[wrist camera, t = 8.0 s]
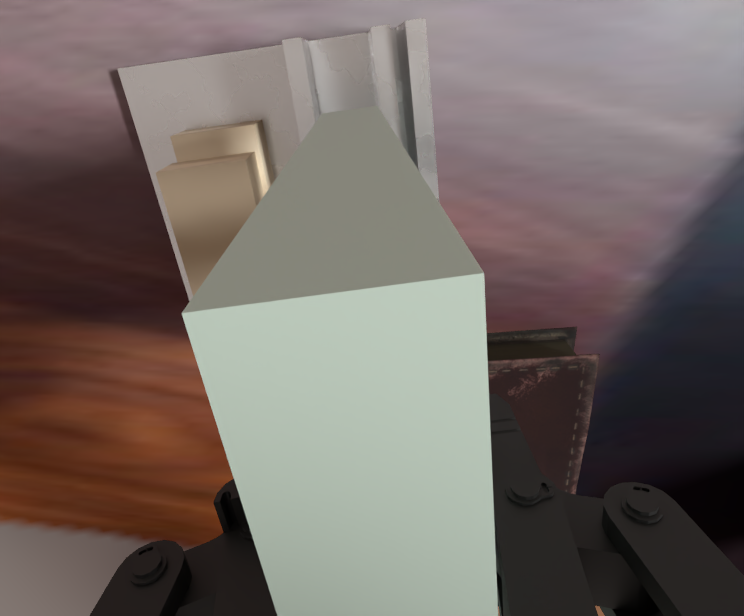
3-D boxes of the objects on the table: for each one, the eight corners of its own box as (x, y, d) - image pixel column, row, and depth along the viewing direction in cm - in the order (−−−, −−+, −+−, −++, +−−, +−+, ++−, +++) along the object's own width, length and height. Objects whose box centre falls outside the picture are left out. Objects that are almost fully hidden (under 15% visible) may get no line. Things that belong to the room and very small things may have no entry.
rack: (435, 315, 41) (451, 361, 34) (208, 345, 41) (182, 397, 35) (410, 27, 32) (425, 17, 26) (123, 68, 32) (68, 69, 26)
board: (409, 380, 28) (512, 951, 10) (365, 386, 28) (387, 964, 10) (377, 105, 22) (483, 272, 4) (321, 113, 22) (181, 313, 4)
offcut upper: (288, 302, 35) (283, 322, 32) (215, 312, 35) (204, 332, 33) (254, 151, 31) (245, 159, 28) (172, 163, 31) (155, 172, 28)
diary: (371, 552, 53) (372, 599, 48) (354, 336, 42) (353, 369, 37) (554, 542, 53) (572, 588, 48) (584, 323, 42) (612, 355, 37)
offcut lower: (297, 290, 38) (293, 308, 35) (230, 300, 38) (221, 318, 35) (261, 119, 33) (254, 124, 30) (184, 130, 33) (170, 136, 30)
